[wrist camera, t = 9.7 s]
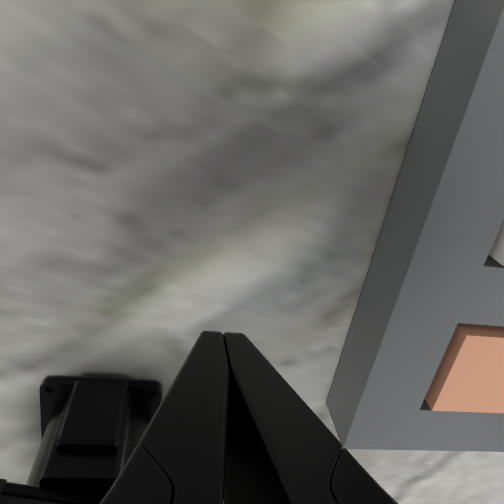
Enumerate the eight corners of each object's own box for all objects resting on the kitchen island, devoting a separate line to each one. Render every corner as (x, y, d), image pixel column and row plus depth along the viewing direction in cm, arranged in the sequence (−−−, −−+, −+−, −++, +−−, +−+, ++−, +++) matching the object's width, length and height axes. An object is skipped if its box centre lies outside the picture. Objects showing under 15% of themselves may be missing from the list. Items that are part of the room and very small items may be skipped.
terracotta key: (482, 376, 28) (513, 413, 25) (408, 372, 27) (431, 410, 24) (516, 308, 26) (554, 341, 23) (436, 301, 25) (466, 335, 22)
